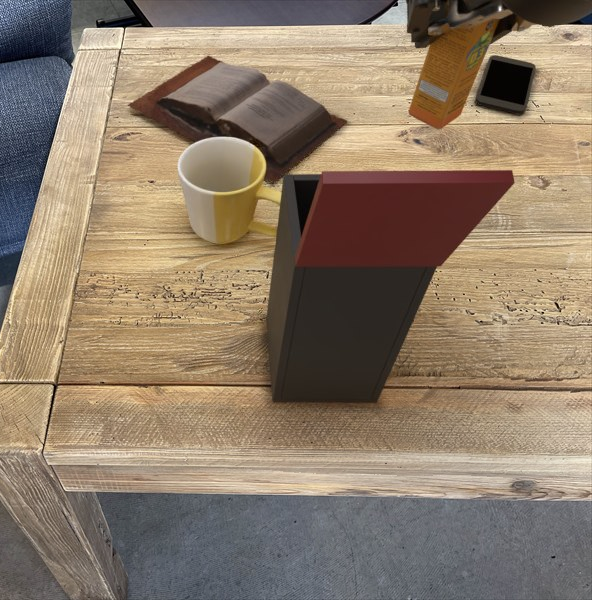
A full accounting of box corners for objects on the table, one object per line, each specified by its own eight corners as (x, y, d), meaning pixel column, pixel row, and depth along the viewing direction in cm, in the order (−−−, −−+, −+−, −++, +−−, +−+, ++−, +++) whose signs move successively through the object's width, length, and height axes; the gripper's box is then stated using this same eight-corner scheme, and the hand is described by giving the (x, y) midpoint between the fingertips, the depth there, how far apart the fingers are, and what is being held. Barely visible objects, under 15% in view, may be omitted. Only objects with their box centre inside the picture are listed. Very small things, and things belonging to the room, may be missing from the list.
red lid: (321, 170, 34) (322, 184, 34) (512, 169, 34) (515, 182, 33) (294, 256, 45) (295, 266, 44) (439, 256, 44) (440, 266, 44)
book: (273, 188, 82) (277, 161, 78) (126, 109, 93) (124, 82, 90) (348, 128, 92) (355, 101, 89) (208, 63, 103) (209, 37, 100)
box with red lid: (266, 319, 68) (283, 173, 52) (360, 319, 67) (408, 173, 51) (272, 402, 61) (294, 266, 45) (377, 403, 61) (438, 265, 45)
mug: (164, 232, 77) (158, 166, 69) (215, 191, 81) (216, 125, 73) (248, 285, 71) (253, 220, 63) (298, 237, 76) (309, 172, 67)
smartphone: (535, 67, 98) (538, 62, 98) (524, 116, 90) (526, 111, 89) (488, 58, 101) (490, 52, 100) (472, 105, 92) (474, 100, 92)
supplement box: (441, 133, 49) (484, 8, 41) (406, 115, 50) (441, -8, 42) (465, 116, 50) (511, -7, 42) (430, 99, 52) (468, -23, 44)
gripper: (753, -172, 29) (541, -22, 46) (464, -159, 29) (357, -13, 46) (747, -11, 30) (541, 78, 47) (466, 3, 30) (360, 88, 47)
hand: (451, 33), depth 46 cm, fingers closed on supplement box, 4 cm apart
